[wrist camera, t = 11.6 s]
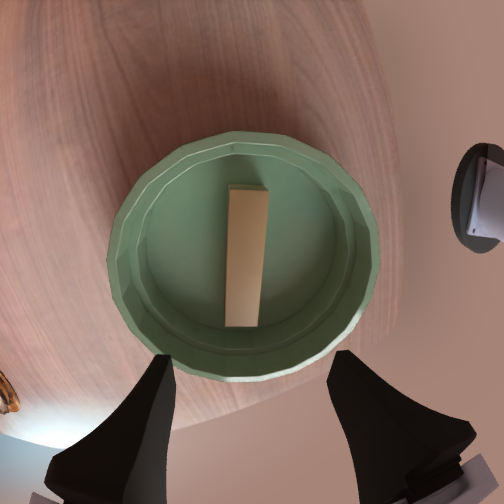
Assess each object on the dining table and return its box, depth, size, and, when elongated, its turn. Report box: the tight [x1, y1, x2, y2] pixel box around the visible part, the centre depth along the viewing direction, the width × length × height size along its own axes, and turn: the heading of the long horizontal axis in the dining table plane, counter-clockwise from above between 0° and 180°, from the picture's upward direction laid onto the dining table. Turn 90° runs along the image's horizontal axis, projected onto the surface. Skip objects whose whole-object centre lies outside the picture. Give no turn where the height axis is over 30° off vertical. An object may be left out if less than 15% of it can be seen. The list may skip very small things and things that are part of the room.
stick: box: [224, 183, 269, 327], centre depth 18 cm, size 2×9×2 cm, turn 176°
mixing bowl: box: [106, 131, 380, 382], centre depth 17 cm, size 15×15×5 cm
